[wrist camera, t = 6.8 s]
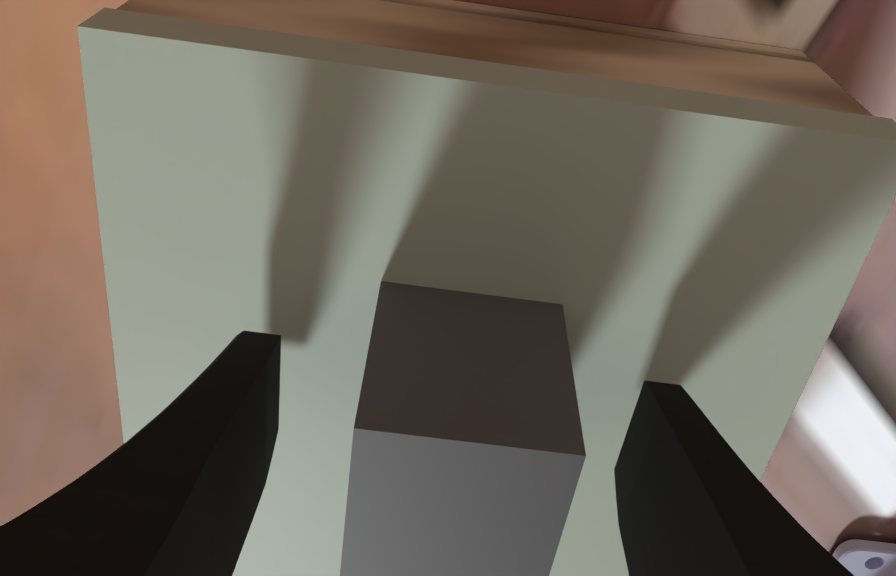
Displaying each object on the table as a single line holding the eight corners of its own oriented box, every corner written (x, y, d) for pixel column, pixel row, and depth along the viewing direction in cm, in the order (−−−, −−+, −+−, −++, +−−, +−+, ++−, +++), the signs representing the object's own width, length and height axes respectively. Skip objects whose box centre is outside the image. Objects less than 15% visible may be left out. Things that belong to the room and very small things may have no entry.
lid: (865, 96, 14) (1066, 271, 9) (665, 568, 20) (721, 811, 15) (129, -9, 13) (-65, 120, 8) (168, 511, 19) (72, 747, 15)
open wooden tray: (800, 50, 16) (886, 127, 13) (642, 481, 23) (670, 607, 19) (185, -39, 16) (105, 17, 12) (203, 429, 22) (154, 549, 19)
